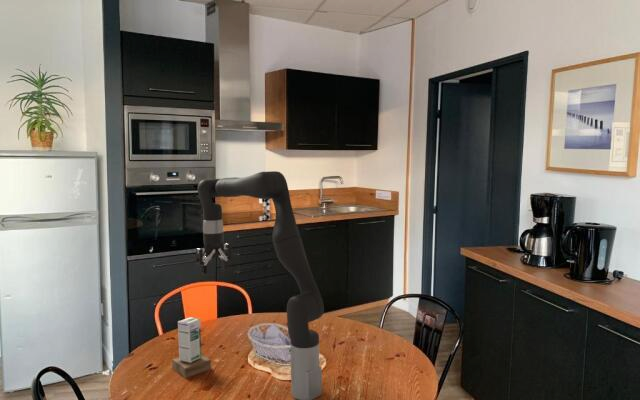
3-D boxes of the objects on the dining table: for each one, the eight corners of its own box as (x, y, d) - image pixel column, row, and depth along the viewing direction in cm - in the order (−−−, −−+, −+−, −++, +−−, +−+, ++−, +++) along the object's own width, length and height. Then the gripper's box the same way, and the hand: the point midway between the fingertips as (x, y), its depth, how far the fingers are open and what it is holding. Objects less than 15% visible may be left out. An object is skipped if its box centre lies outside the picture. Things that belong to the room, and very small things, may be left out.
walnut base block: (211, 370, 173) (210, 359, 172) (185, 379, 166) (185, 368, 165) (197, 361, 180) (197, 351, 179) (172, 369, 173) (172, 359, 173)
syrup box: (190, 363, 168) (189, 322, 168) (178, 360, 171) (177, 320, 171) (202, 357, 173) (201, 318, 173) (190, 355, 176) (189, 316, 176)
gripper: (202, 234, 174) (203, 278, 175) (234, 229, 184) (235, 270, 185) (191, 232, 179) (193, 274, 181) (223, 227, 189) (224, 267, 191)
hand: (214, 272), depth 183 cm, fingers open, 8 cm apart
